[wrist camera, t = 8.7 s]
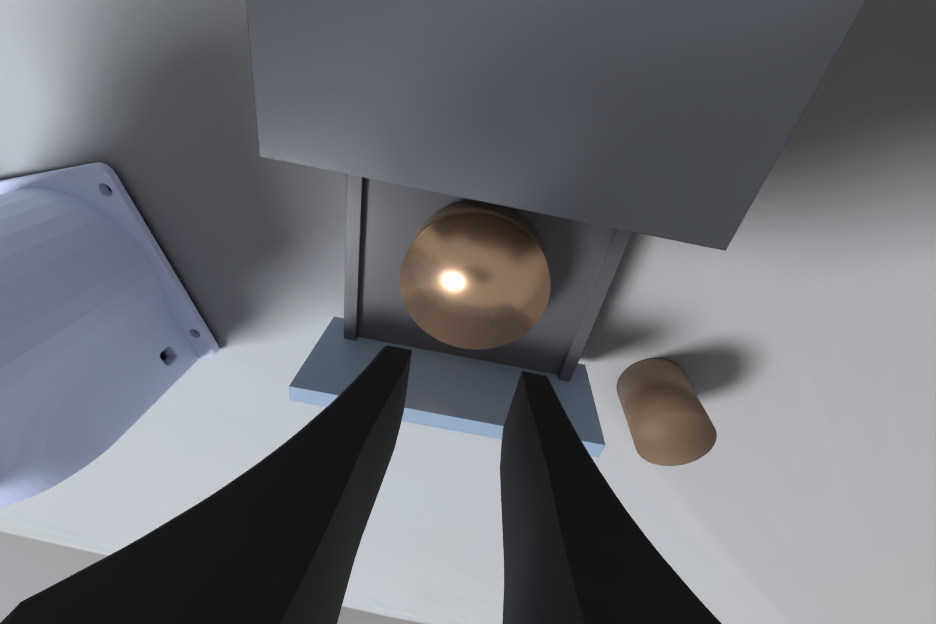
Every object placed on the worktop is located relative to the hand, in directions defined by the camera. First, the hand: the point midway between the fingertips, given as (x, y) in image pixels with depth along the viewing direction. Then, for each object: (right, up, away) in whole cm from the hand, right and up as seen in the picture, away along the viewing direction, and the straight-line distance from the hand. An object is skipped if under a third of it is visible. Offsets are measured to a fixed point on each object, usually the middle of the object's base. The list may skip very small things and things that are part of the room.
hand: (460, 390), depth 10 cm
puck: (0, +4, +5) cm, 7 cm away
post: (+9, -2, +10) cm, 14 cm away
